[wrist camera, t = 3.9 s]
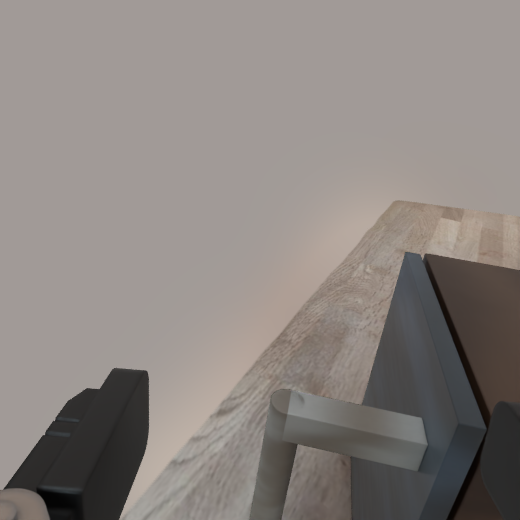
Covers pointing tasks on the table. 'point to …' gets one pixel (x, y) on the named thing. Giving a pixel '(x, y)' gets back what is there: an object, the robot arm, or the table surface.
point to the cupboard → (480, 351)
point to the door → (386, 419)
